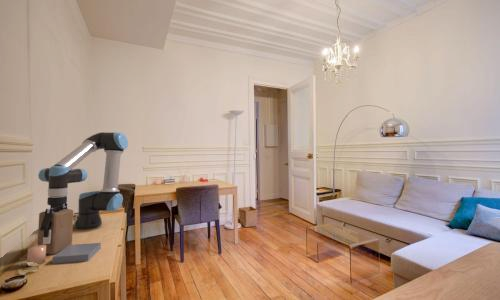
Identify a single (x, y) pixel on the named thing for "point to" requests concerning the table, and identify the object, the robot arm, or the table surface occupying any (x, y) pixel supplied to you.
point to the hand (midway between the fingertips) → (55, 238)
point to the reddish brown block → (37, 254)
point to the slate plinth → (76, 253)
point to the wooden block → (57, 231)
